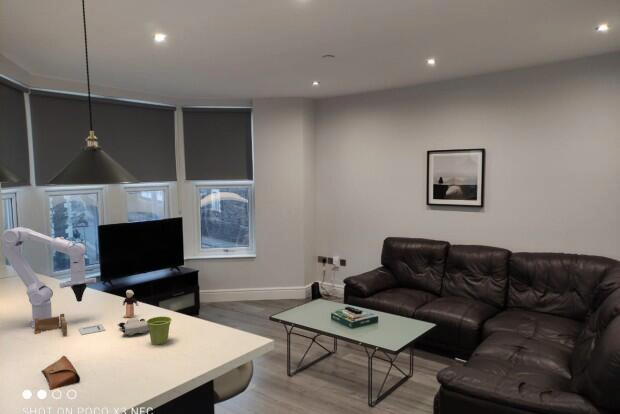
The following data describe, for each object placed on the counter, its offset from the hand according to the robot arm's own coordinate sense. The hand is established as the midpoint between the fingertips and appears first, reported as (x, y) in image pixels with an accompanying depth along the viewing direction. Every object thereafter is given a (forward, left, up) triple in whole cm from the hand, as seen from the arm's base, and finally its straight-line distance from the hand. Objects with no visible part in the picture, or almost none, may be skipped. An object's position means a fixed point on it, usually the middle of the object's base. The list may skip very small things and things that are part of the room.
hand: (79, 301), depth 191 cm
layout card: (+14, +3, -9) cm, 17 cm away
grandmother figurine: (+6, +20, -10) cm, 23 cm away
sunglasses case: (+55, -12, -10) cm, 57 cm away
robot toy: (+26, +18, -10) cm, 33 cm away
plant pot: (+44, +23, -10) cm, 51 cm away
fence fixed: (+4, -11, -9) cm, 15 cm away
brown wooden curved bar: (+10, -7, -9) cm, 15 cm away
